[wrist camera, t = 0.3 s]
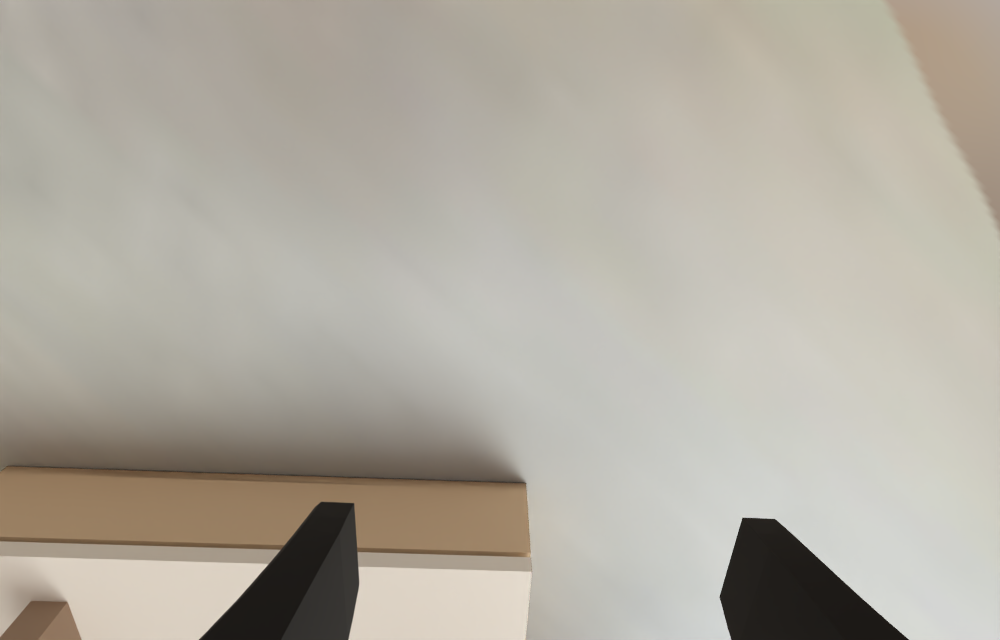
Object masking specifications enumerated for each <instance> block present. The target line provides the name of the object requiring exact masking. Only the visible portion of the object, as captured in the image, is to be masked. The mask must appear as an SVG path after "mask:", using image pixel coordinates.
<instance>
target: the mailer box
mask: <svg viewBox="0 0 1000 640" xmlns="http://www.w3.org/2000/svg"><path fill="white" fill-rule="evenodd" d="M320 502H341V503H354V506H355V522H356V537H357V552H371V553H405V554H438V555H471V556H504V557H530V554H531V551H530V535H529V520H528V505H527V490H526V483H501V482H470V481H440V480H409V479H379V478H348V477H318V476H288V475H257V474H227V473H196V472H166V471H136V470H105V469H75V468H44V467H14V466H7V467H6V468H5V469H4V470H2V471H1V472H0V541H6V542H39V543H72V544H106V545H139V546H172V547H205V548H238V549H272V550H281V549H282V548H283V546H284V545H285V544H286V543H287V542H288V540H289V539H290V538H291V537H292V535H293V534H294V533H295V532H296V530H297V529H298V528H299V527H300V525H301V524H302V523H303V522H304V520H305V519H306V518H307V516H308V515H309V514H310V513H311V511H312V510H313V509H314V507H315V506H316V505H318V504H319V503H320Z"/></svg>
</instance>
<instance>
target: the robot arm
mask: <svg viewBox="0 0 1000 640" xmlns="http://www.w3.org/2000/svg"><path fill="white" fill-rule="evenodd" d="M358 590H359V568H358V553H357V537H356V522H355V506H354V503H341V502H320V503H319V504H318V505H316V506H315V507H314V509H313V510H312V511H311V513H310V514H309V515H308V516H307V518H306V519H305V520H304V522H303V523H302V524H301V525H300V527H299V528H298V529H297V530H296V532H295V533H294V534H293V535H292V537H291V538H290V539H289V540H288V542H287V543H286V544H285V545H284V546H283V548H282V549H281V550H280V551H279V552H278V554H277V555H276V556H275V557H274V558H273V560H272V561H271V562H270V563H269V564H268V565H267V567H266V568H265V569H264V570H263V571H262V572H261V573H260V575H259V576H258V577H257V578H256V579H255V580H254V581H253V582H252V584H251V585H250V586H249V587H248V588H247V589H246V590H245V592H244V593H243V594H242V595H241V596H240V597H239V598H238V599H237V600H236V602H235V603H234V604H233V605H232V606H231V607H230V608H229V609H228V610H227V611H226V612H225V613H224V614H223V615H222V616H221V617H220V618H219V619H218V620H217V621H216V622H215V623H214V624H213V626H212V627H211V628H210V629H209V630H208V631H207V632H206V633H205V634H204V635H203V636H202V637H201V638H200V639H199V640H349V635H350V630H351V625H352V620H353V616H354V610H355V605H356V600H357V595H358ZM720 600H721V604H722V607H723V611H724V615H725V619H726V622H727V626H728V630H729V633H730V636H731V640H909V639H907V638H906V637H905V636H904V635H903V634H902V633H900V632H899V631H898V630H897V629H896V628H895V627H893V626H892V625H891V624H890V623H889V622H888V621H887V620H885V619H884V618H883V617H882V616H881V615H880V614H879V613H877V612H876V611H875V610H874V609H873V608H872V607H871V606H870V605H869V604H867V603H866V602H865V601H864V600H863V599H862V598H861V597H860V596H858V595H857V594H856V593H855V592H854V591H853V590H852V589H851V588H850V587H849V586H848V585H846V584H845V583H844V582H843V581H842V580H841V579H840V578H839V577H838V576H837V575H836V574H835V573H833V572H832V571H831V570H830V569H829V568H828V567H827V566H826V565H825V564H824V563H823V562H822V561H820V560H819V559H818V558H817V557H816V556H815V555H814V554H813V553H812V552H811V551H810V550H809V549H808V548H807V547H805V546H804V545H803V544H802V543H801V542H800V541H799V540H798V539H797V538H796V537H795V536H794V535H792V534H791V533H790V532H789V531H788V530H787V529H786V528H785V527H783V526H782V525H781V524H780V523H779V522H778V521H777V520H775V519H760V518H742V522H741V525H740V528H739V532H738V535H737V539H736V542H735V546H734V549H733V553H732V556H731V559H730V563H729V566H728V570H727V573H726V577H725V580H724V584H723V587H722V591H721V594H720Z"/></svg>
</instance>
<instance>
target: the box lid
mask: <svg viewBox="0 0 1000 640" xmlns="http://www.w3.org/2000/svg"><path fill="white" fill-rule="evenodd" d="M279 551H280V550H272V549H238V548H205V547H172V546H139V545H106V544H72V543H39V542H6V541H0V640H199V639H200V638H201V637H202V636H203V635H204V634H205V633H206V632H207V631H208V630H209V629H210V628H211V627H212V626H213V624H214V623H215V622H216V621H217V620H218V619H219V618H220V617H221V616H222V615H223V614H224V613H225V612H226V611H227V610H228V609H229V608H230V607H231V606H232V605H233V604H234V603H235V602H236V600H237V599H238V598H239V597H240V596H241V595H242V594H243V593H244V592H245V590H246V589H247V588H248V587H249V586H250V585H251V584H252V582H253V581H254V580H255V579H256V578H257V577H258V576H259V575H260V573H261V572H262V571H263V570H264V569H265V568H266V567H267V565H268V564H269V563H270V562H271V561H272V560H273V558H274V557H275V556H276V555H277V554H278V552H279ZM357 553H358V568H359V590H358V595H357V600H356V605H355V610H354V616H353V620H352V625H351V630H350V635H349V640H526V631H527V620H528V609H529V598H530V587H531V576H532V566H531V557H504V556H471V555H438V554H405V553H371V552H357Z"/></svg>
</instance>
